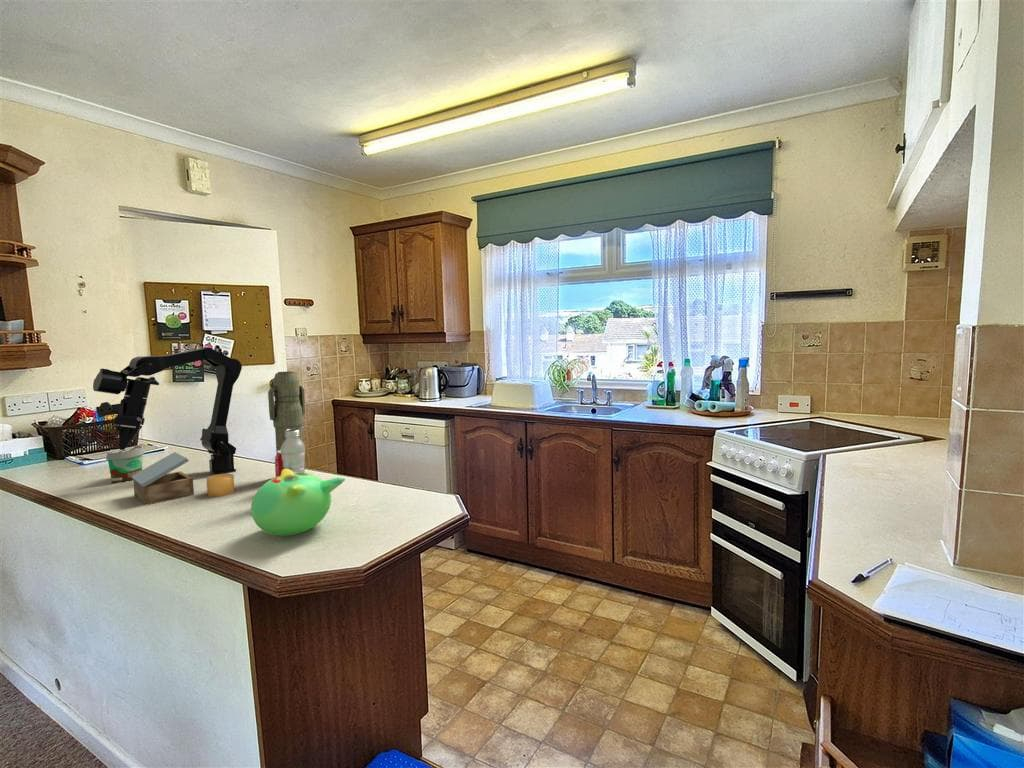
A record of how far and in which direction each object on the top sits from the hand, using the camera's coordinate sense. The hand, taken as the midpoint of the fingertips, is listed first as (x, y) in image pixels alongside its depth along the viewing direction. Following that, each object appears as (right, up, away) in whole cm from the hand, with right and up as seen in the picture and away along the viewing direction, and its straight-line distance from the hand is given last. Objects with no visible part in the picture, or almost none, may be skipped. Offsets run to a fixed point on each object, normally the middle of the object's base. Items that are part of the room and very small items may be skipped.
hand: (123, 448), depth 150 cm
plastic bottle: (+54, -14, -6) cm, 56 cm away
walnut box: (+14, -14, -2) cm, 19 cm away
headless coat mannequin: (+43, -12, +16) cm, 47 cm away
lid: (+13, -6, -3) cm, 15 cm away
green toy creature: (+65, -16, -31) cm, 73 cm away
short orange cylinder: (+29, -13, 0) cm, 32 cm away
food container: (-9, -12, +16) cm, 22 cm away
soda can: (+48, -13, +3) cm, 50 cm away
